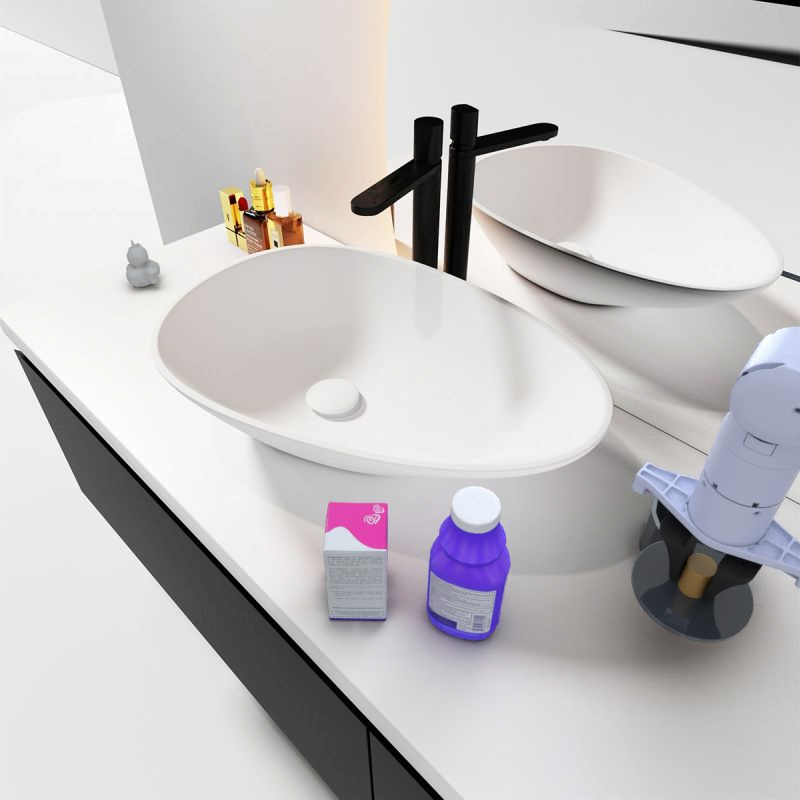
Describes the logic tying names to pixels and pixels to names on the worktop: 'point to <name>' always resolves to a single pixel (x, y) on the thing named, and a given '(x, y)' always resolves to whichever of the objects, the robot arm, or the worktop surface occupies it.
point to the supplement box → (356, 561)
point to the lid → (689, 596)
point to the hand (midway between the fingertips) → (693, 583)
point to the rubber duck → (141, 267)
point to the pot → (656, 526)
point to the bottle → (469, 567)
